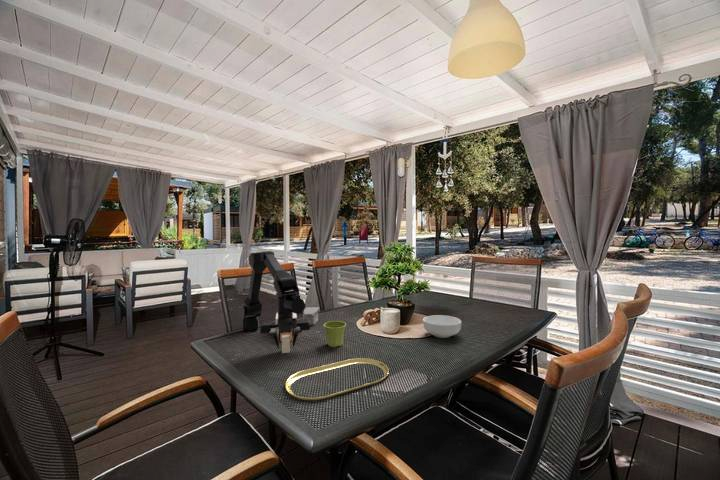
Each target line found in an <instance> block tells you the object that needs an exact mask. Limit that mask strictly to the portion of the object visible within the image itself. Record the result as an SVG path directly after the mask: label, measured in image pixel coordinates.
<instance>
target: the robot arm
mask: <svg viewBox="0 0 720 480" xmlns="http://www.w3.org/2000/svg"><path fill="white" fill-rule="evenodd" d="M279 262H280V261H278V259H277V258H276V256H275V252H274V251H272V250H268V251H267V250H266V251H260V252H258V251H257V252H251V253H250V254H249V256H248V264H249V267H250V268H251V274H250V281H249V287H248V288H249V289H248V294H247V297H246V299H245V300H244V301H243V303H242V306H241V308H240V311H239V313H238V314H239V318H240V319H242V333H248V332H249V333H250V332H257V331H258V329H259V330H260V334H268V335H269V336H272V337H273V340H274V342H275V344H276V347H277V349H280V340H279V336H278V332H277V329H279V334H280V333H290V332H292V348H295V344H296V341H297V338H298V337H299V334H300V333H302V332H303V331H310V330H311V326H310V323H309V320H308V319H305V320H303V319H299V320H298V318H295V319H293V313H295V314H297V315H298V314H301V313H303V312H304V309H305V308H306V303H305V300H304V299H303V298H301V295H300V294H301V293H300V288H299V286H298V284H297V282H296V280H295V278H294V277H293V276H292V275H291V273H289V272H287V271H285V270H284V268H283V267H282V265H281V263H279ZM266 269H268V271H269V273H270V275H271V276H272V278H273V283H272V285H273V286H274V287H273V288H274V289H275V291H276V292H275V296H276V297H277V313H278V324H276V323H274V324H272V321H263V322H261V324H260V323H259V321H260V320H259V318H258V317H261V315H262V309H263V308H262V306H263V304H262V303H261V301H260V293H261V285H262V280H263V274H264V271H265V270H266Z"/></svg>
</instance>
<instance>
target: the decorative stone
mask: <svg viewBox="0 0 720 480" xmlns="http://www.w3.org/2000/svg"><path fill="white" fill-rule="evenodd" d="M319 311H320V307H318V306H317V307H315V306H312V307H310V306H307V307H305V308H304V310H303V311H302V320H305V319H308V320H309V323H310V327H313V326H315V325H316V324H317V323H318V322H319V318H320V317H319V316H320V315H319Z"/></svg>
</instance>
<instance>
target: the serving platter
mask: <svg viewBox="0 0 720 480" xmlns="http://www.w3.org/2000/svg"><path fill="white" fill-rule="evenodd" d="M353 364H369V365H372V366H376V367H379V368H380V369H381V370H382V372H383V376H384V377H383V376H382V377H381V379H378V380H374V381H371V382H369V383H365V384H362V385H359V386H355V387H352V388H347V389H345V390H342V391H338V392H335V393H331V394H328V395H325V396H318V397H307V396H306V397H305V396H301V395H296V394H294V392H293V391H292V389H291V387H292V385H293V383H294V382H295V381H296V380H299V379H300V378H302V377H305V376H308V375H313V374H316V373H321V372H325V371H330V370H333V369H337V368H342V367H345V366H349V365H353ZM389 372H390V369H389V367H388V365H386V364H385V363H383V362H382V361H379V360H377V359H373V358H367V357H360V358H359V357H357V358H350V359H346V360H345V359H344V360H342V361H341V360H340V361H337V362H333V363H328V364H324V365H321V366H316V367H313V368H308V369H304V370H299V371H298V372H296V373H293V374H292V375H290V376H289V377H288V378H287V380H286V381H285V383H284V387H285V391H286V392H287V393H288V394H289V395H290V396H291V397H293V398H296V399H298V400H304V401H320V400H325V399H329V398H332V397H336V396H339V395H343V394H346V393H349V392H352V391H356V390H358V389H362V388H366V387H369V386H371V385H375V384H378V383H380V382H382V381H384V380H385V379H386V378H387V377H388V375H389Z"/></svg>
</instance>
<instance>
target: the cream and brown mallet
mask: <svg viewBox="0 0 720 480" xmlns="http://www.w3.org/2000/svg"><path fill="white" fill-rule="evenodd" d="M279 335H280V337H279V339H280V340H279V342H281V354H286V353H287V354H289V353H291V352H290V351H291V350H290V349H291V344H290V342H291V341H293V331H292V332H290V333H279Z"/></svg>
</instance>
